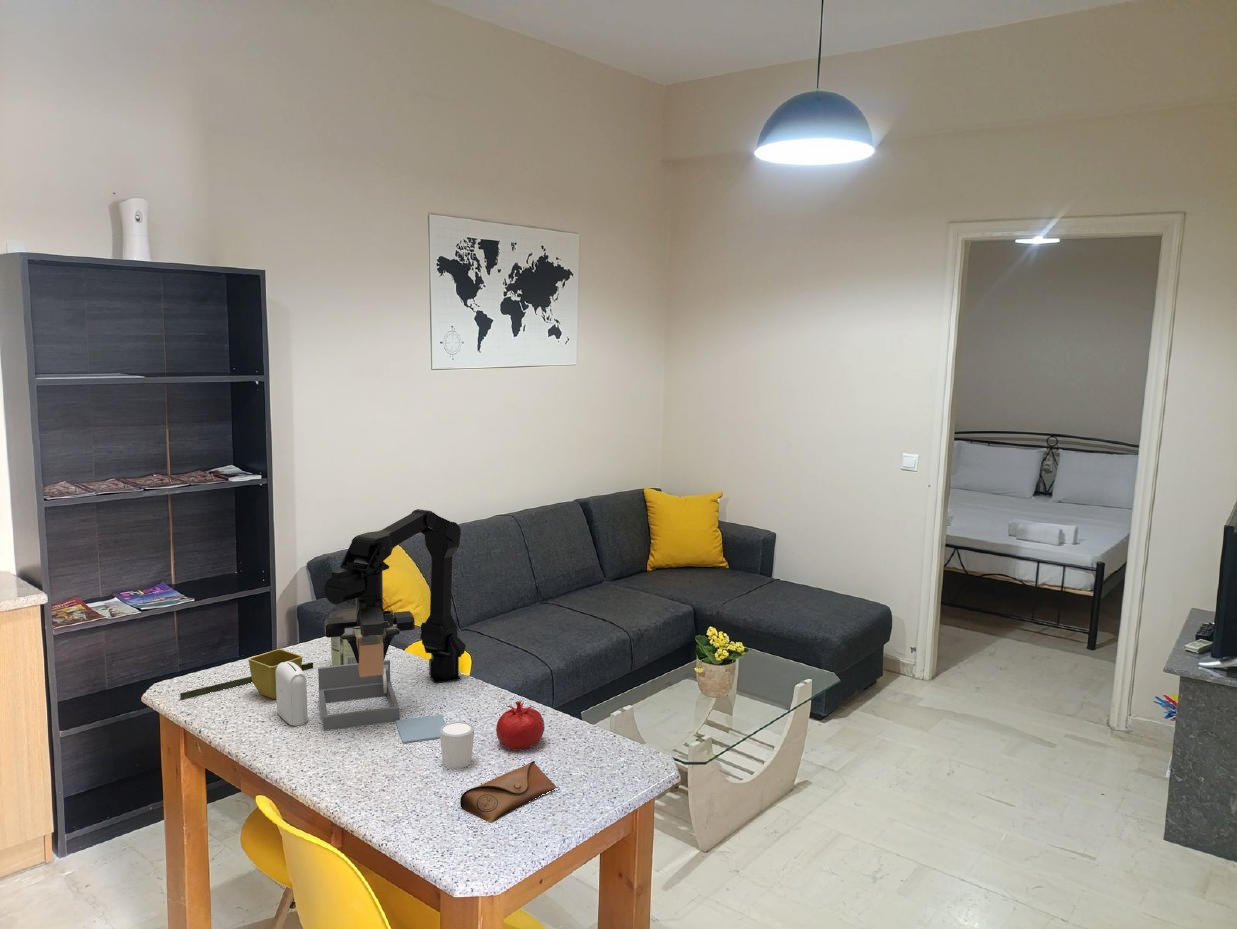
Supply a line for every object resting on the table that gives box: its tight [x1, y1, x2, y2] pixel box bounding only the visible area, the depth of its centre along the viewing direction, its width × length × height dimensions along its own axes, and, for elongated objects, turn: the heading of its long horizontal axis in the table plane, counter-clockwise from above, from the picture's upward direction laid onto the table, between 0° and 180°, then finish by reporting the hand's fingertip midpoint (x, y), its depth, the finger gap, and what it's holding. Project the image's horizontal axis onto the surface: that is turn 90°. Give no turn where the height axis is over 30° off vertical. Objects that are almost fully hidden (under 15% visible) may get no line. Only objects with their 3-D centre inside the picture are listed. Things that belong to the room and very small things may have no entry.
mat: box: [395, 713, 447, 744], centre depth 190 cm, size 10×11×1 cm
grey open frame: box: [317, 659, 401, 732], centre depth 198 cm, size 16×17×8 cm
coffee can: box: [329, 607, 361, 666], centre depth 223 cm, size 10×10×14 cm
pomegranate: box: [495, 701, 545, 751], centre depth 184 cm, size 10×10×9 cm
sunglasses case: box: [459, 760, 558, 824], centre depth 163 cm, size 18×7×7 cm, turn 139°
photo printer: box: [276, 661, 309, 727], centre depth 193 cm, size 10×4×12 cm, turn 39°
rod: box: [179, 661, 314, 701], centre depth 213 cm, size 31×1×2 cm, turn 133°
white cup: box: [439, 721, 475, 769], centre depth 175 cm, size 7×7×7 cm
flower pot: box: [247, 648, 303, 700], centre depth 206 cm, size 9×9×9 cm
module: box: [357, 635, 385, 677], centre depth 195 cm, size 5×7×7 cm
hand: (370, 661), depth 195 cm, fingers closed on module, 5 cm apart
